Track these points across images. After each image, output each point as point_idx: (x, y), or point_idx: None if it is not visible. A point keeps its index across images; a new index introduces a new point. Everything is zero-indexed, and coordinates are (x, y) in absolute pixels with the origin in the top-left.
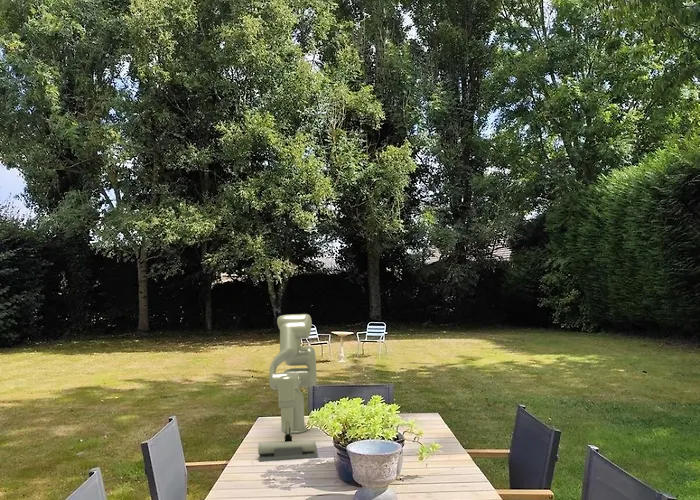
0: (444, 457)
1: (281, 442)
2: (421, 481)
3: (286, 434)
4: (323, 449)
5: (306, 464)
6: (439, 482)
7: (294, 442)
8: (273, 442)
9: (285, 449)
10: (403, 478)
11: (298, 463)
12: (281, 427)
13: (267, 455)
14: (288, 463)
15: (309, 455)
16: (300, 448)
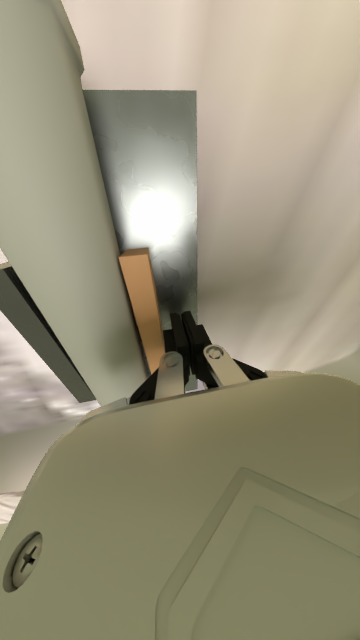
0: None
1: (73, 332)
2: (6, 501)
3: (138, 390)
4: (189, 392)
5: (26, 384)
6: (13, 507)
7: (93, 394)
8: (50, 260)
9: (34, 344)
10: (10, 493)
11: (28, 363)
12: (70, 490)
13: None
14: (10, 331)
15: None
16: (77, 396)
